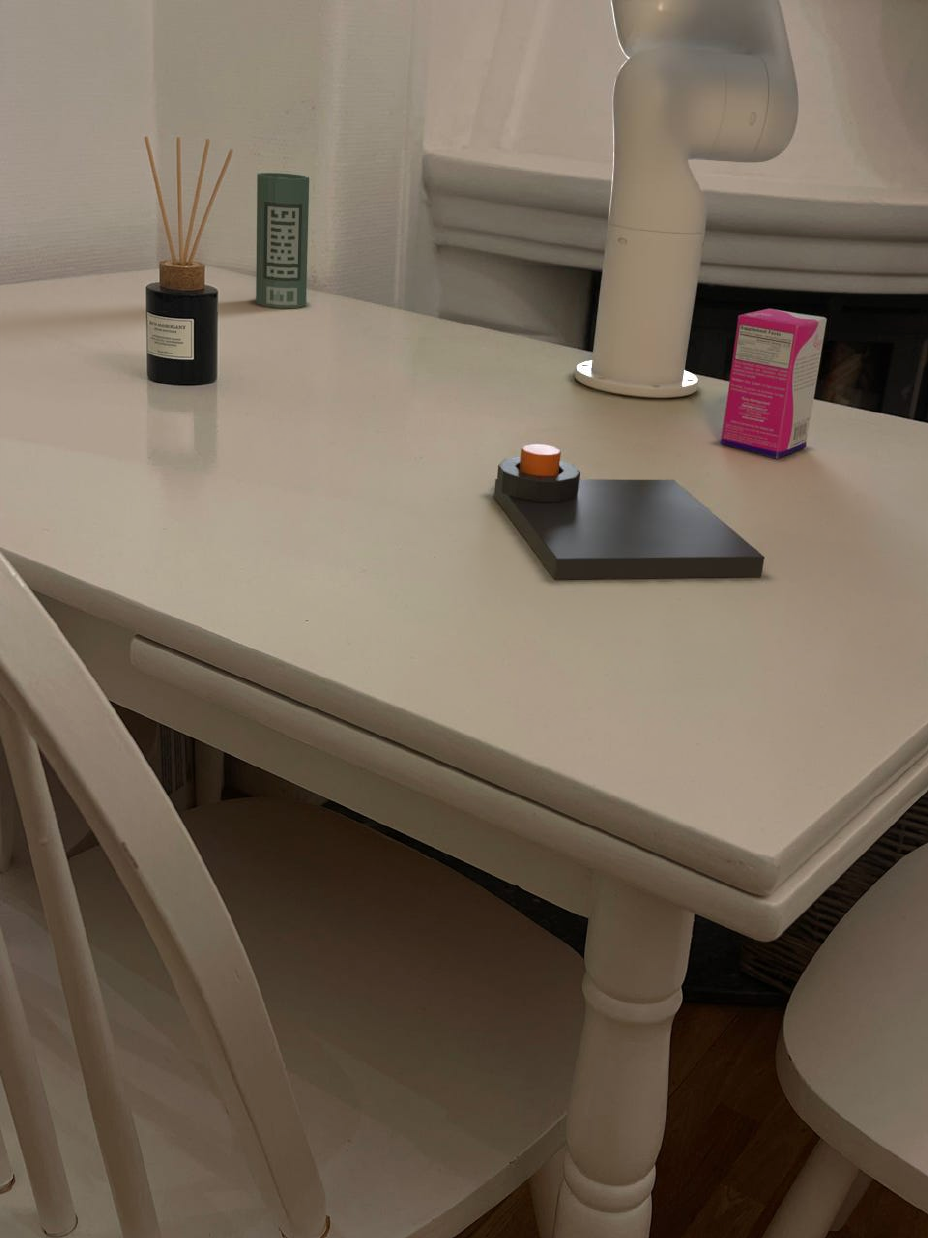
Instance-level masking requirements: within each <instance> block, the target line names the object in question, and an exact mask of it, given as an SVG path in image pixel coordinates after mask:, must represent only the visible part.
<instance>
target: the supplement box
mask: <svg viewBox="0 0 928 1238" xmlns="http://www.w3.org/2000/svg"><path fill="white" fill-rule="evenodd" d="M826 325H827V318H826V317H824V316H819V315H811V314H805V313H797V312H791V311H785V310H780V309H774V308H767V309H766V308H765V309H762V310H757V311H752V312H747V313H744V314H739V315H738V317H737V323H736V331H735V339H734V344H733V353H732V361H731V368H730V373H729V374H730V375H729V382H728V390H727V395H726V396H727V397H726V403H725V410H724V418H723V426H722V432H721V438H720V439H721V440H720V444H721V445H723V446H727V447H731V448H735V449H737V450H738V449H739V450H742V451H747V452H750V453H754V454H758V455H760V456H765V457H769V458H773V459H777V460H778V459H780V458H783V457H786V456H788V455H790V454H793V453H795V452H798V451H800V450H803V449H806V448H807V442H808V435H809V428H810V422H811V418H812V417H811V416H812V410H813V405H814V398H815V393H816V386H817V381H818V374H819V370H820V369H819V368H820V364H821V356H822V350H823V344H824V338H825V333H826Z"/></svg>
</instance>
